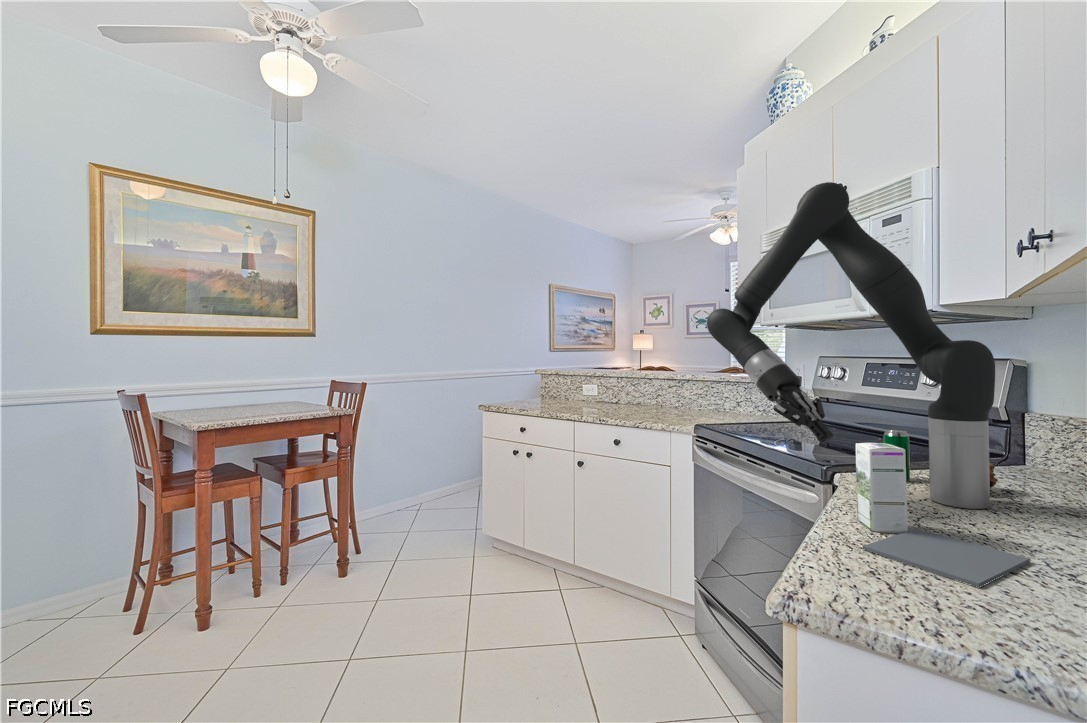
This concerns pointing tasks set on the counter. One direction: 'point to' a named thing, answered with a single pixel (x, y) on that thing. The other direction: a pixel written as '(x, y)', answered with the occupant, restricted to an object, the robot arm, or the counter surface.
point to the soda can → (899, 445)
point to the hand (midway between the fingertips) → (827, 439)
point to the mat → (948, 556)
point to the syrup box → (881, 487)
